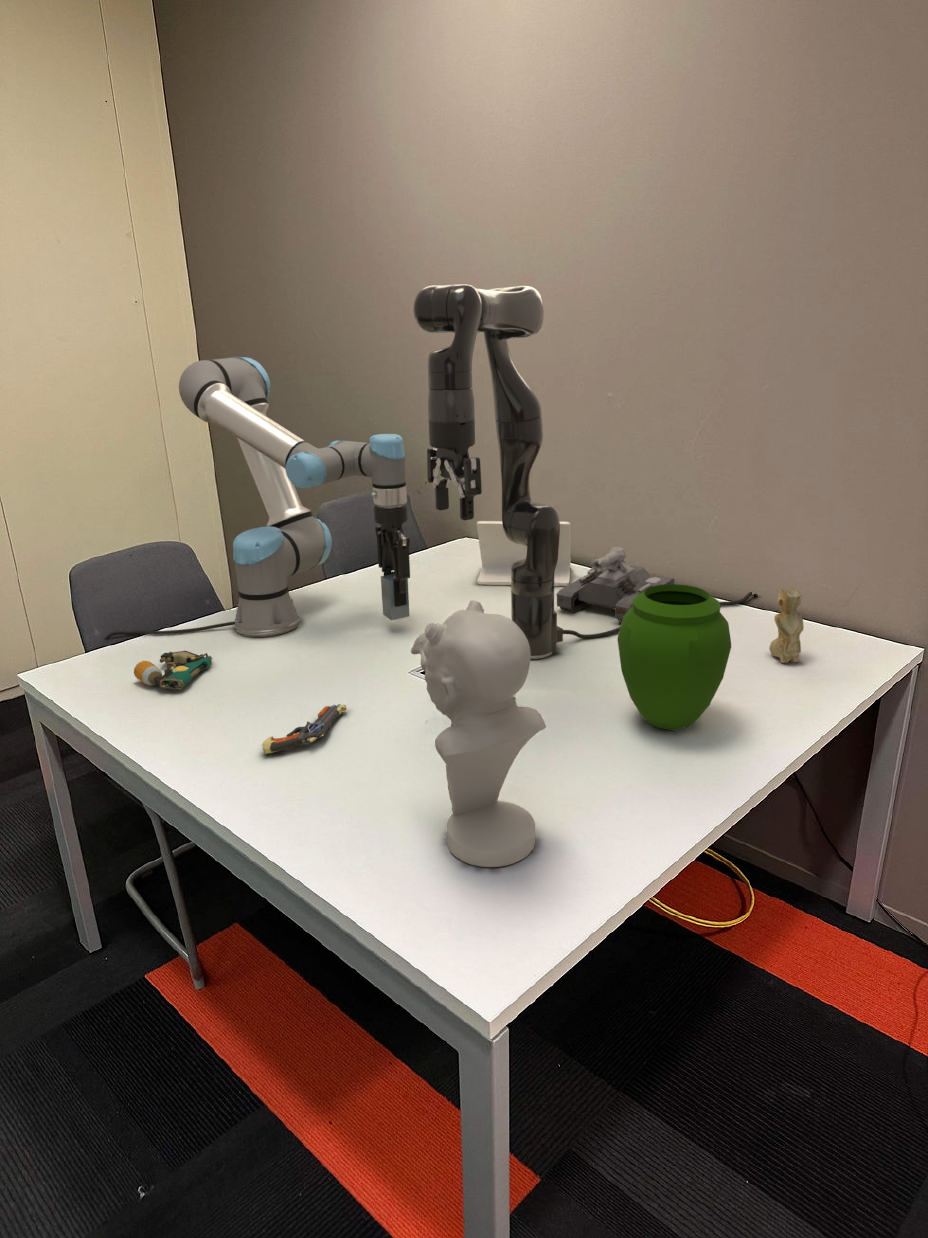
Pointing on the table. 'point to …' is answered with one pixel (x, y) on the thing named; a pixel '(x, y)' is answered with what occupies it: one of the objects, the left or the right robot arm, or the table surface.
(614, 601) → the toy
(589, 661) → the table surface
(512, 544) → the tablet stand
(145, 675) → the spray gun
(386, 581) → the block
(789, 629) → the sculpture
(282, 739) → the toy gun
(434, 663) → the bust sculpture
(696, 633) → the vase
